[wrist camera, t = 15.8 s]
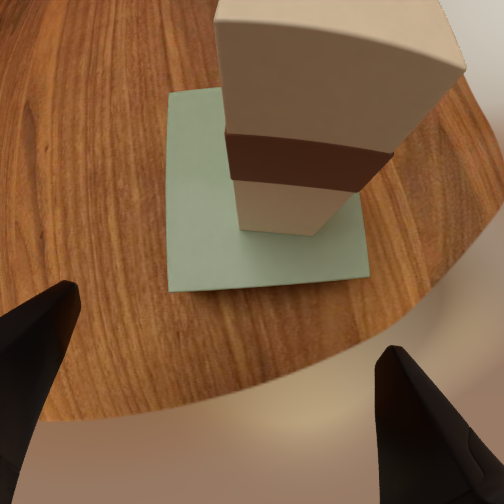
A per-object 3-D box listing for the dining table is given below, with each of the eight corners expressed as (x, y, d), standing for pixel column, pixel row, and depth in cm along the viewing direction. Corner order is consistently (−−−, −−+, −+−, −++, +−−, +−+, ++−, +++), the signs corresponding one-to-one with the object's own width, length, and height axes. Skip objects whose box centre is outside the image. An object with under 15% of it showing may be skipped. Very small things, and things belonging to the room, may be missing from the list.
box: (347, 281, 22) (370, 276, 17) (184, 294, 21) (168, 292, 17) (323, 117, 23) (336, 84, 19) (180, 125, 23) (168, 92, 19)
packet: (314, 237, 17) (472, 73, 4) (237, 230, 17) (207, 21, 4) (317, 137, 18) (398, -71, 4) (248, 130, 18) (248, -96, 5)
